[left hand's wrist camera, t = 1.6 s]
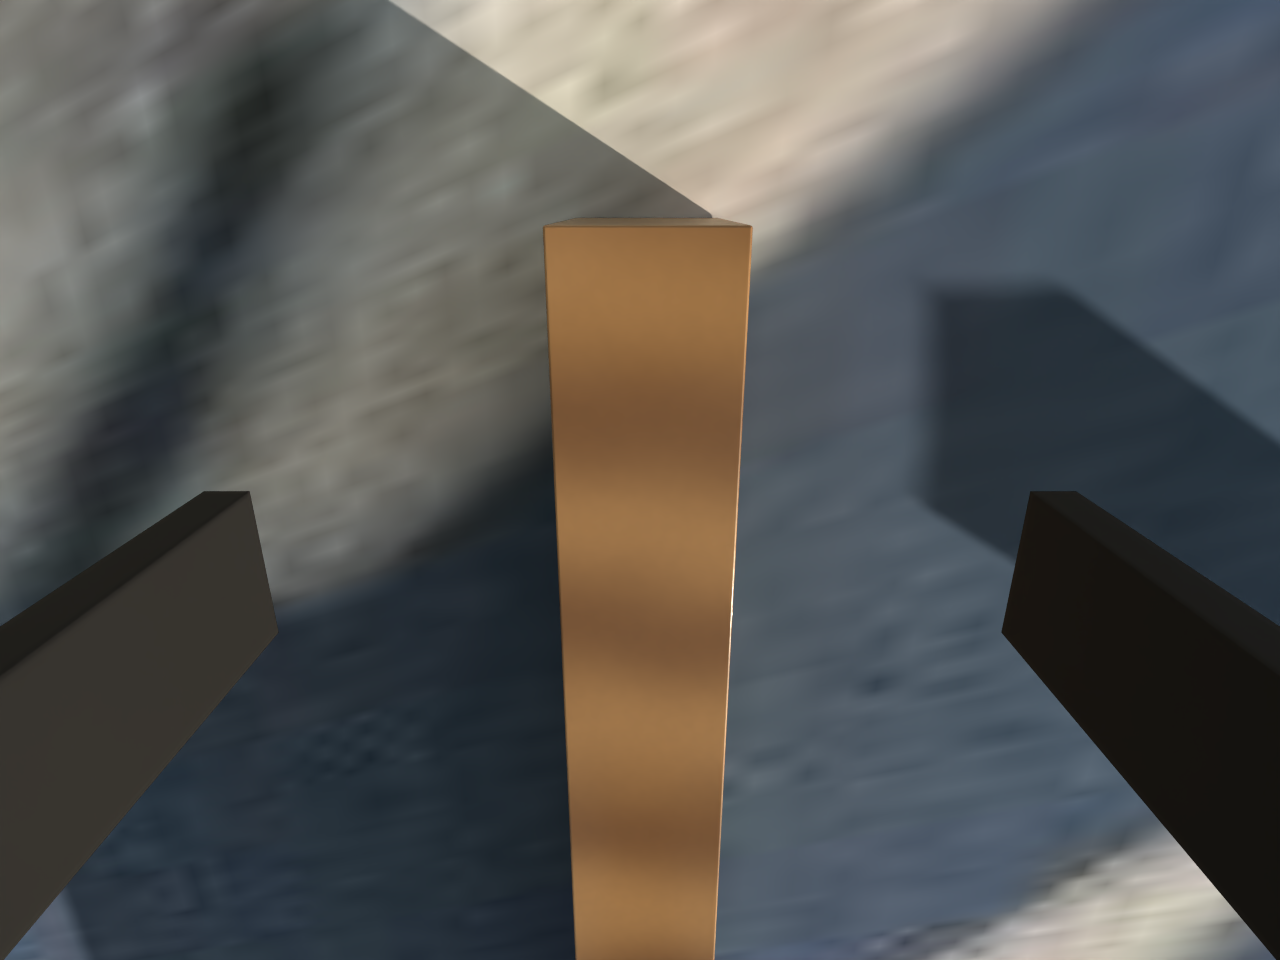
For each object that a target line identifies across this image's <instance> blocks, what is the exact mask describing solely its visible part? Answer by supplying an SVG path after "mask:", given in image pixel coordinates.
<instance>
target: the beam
mask: <svg viewBox="0 0 1280 960" xmlns="http://www.w3.org/2000/svg"><path fill="white" fill-rule="evenodd" d="M752 229H753V228H752V226H750V225H746V224H742V223H737V222H733V221H728V220H724V219H720V218H574V219H570V220H566V221H561V222H557V223H553V224H548V225H545V226H543V242H544V264H545V286H546V309H547V331H548V354H549V376H550V398H551V421H552V443H553V466H554V488H555V511H556V533H557V555H558V578H559V600H560V623H561V645H562V668H563V690H564V712H565V735H566V757H567V780H568V802H569V824H570V847H571V869H572V892H573V914H574V937H575V959H576V960H714V954H715V935H716V916H717V897H718V878H719V859H720V840H721V821H722V802H723V782H724V763H725V744H726V725H727V706H728V687H729V668H730V649H731V630H732V611H733V592H734V573H735V554H736V534H737V515H738V496H739V477H740V458H741V439H742V420H743V401H744V382H745V363H746V344H747V325H748V306H749V286H750V267H751V248H752Z"/></svg>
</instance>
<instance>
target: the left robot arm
mask: <svg viewBox="0 0 1280 960" xmlns="http://www.w3.org/2000/svg"><path fill="white" fill-rule="evenodd" d="M277 634H278V627H277V622H276V618H275V613H274V608H273V603H272V598H271V593H270V588H269V584H268V579H267V574H266V569H265V564H264V559H263V554H262V549H261V545H260V540H259V535H258V530H257V525H256V520H255V515H254V511H253V506H252V501H251V496H250V491H204V492H202V493H201V494H199V495H198V496H196V497H195V498H193V499H192V500H190V501H189V502H187V503H186V504H184V505H183V506H181V507H180V508H178V509H177V510H175V511H174V512H172V513H171V514H169V515H168V516H166V517H165V518H163V519H162V520H160V521H159V522H157V523H156V524H154V525H153V526H151V527H150V528H148V529H147V530H145V531H144V532H142V533H141V534H139V535H138V536H136V537H135V538H133V539H131V540H130V541H128V542H127V543H125V544H124V545H122V546H121V547H119V548H118V549H116V550H115V551H113V552H112V553H110V554H109V555H107V556H106V557H104V558H103V559H101V560H100V561H98V562H97V563H95V564H94V565H92V566H91V567H89V568H88V569H86V570H85V571H83V572H82V573H80V574H79V575H77V576H76V577H74V578H73V579H71V580H70V581H68V582H67V583H65V584H64V585H62V586H61V587H59V588H58V589H56V590H55V591H53V592H52V593H50V594H49V595H47V596H46V597H44V598H43V599H41V600H40V601H38V602H37V603H35V604H34V605H32V606H31V607H29V608H28V609H26V610H25V611H23V612H21V613H20V614H18V615H17V616H15V617H14V618H12V619H11V620H9V621H8V622H6V623H5V624H3V625H2V626H0V960H4V959H5V958H6V956H7V955H8V954H9V953H10V952H11V950H12V949H13V948H14V947H15V946H16V944H17V943H18V942H19V941H20V940H21V939H22V937H23V936H24V935H25V934H26V933H27V931H28V930H29V929H30V928H31V927H32V925H33V924H34V923H35V922H36V921H37V919H38V918H39V917H40V916H41V915H42V914H43V912H44V911H45V910H46V909H47V908H48V906H49V905H50V904H51V903H52V902H53V900H54V899H55V898H56V897H57V896H58V894H59V893H60V892H61V891H62V890H63V888H64V887H65V886H66V885H67V884H68V883H69V881H70V880H71V879H72V878H73V877H74V875H75V874H76V873H77V872H78V871H79V869H80V868H81V867H82V866H83V865H84V863H85V862H86V861H87V860H88V859H89V858H90V856H91V855H92V854H93V853H94V852H95V850H96V849H97V848H98V847H99V846H100V844H101V843H102V842H103V841H104V840H105V838H106V837H107V836H108V835H109V834H110V833H111V831H112V830H113V829H114V828H115V827H116V825H117V824H118V823H119V822H120V821H121V819H122V818H123V817H124V816H125V815H126V813H127V812H128V811H129V810H130V809H131V808H132V806H133V805H134V804H135V803H136V802H137V800H138V799H139V798H140V797H141V796H142V794H143V793H144V792H145V791H146V790H147V788H148V787H149V786H150V785H151V784H152V783H153V781H154V780H155V779H156V778H157V777H158V775H159V774H160V773H161V772H162V771H163V769H164V768H165V767H166V766H167V765H168V763H169V762H170V761H171V760H172V759H173V758H174V756H175V755H176V754H177V753H178V752H179V750H180V749H181V748H182V747H183V746H184V744H185V743H186V742H187V741H188V740H189V738H190V737H191V736H192V735H193V734H194V733H195V731H196V730H197V729H198V728H199V727H200V725H201V724H202V723H203V722H204V721H205V719H206V718H207V717H208V716H209V715H210V713H211V712H212V711H213V710H214V709H215V708H216V706H217V705H218V704H219V703H220V702H221V700H222V699H223V698H224V697H225V696H226V694H227V693H228V692H229V691H230V690H231V688H232V687H233V686H234V685H235V684H236V682H237V681H238V680H239V679H240V678H241V677H242V675H243V674H244V673H245V672H246V671H247V669H248V668H249V667H250V666H251V665H252V663H253V662H254V661H255V660H256V659H257V657H258V656H259V655H260V654H261V653H262V652H263V650H264V649H265V648H266V647H267V646H268V644H269V643H270V642H271V641H272V640H273V638H274V637H275V636H276V635H277ZM1002 634H1003V635H1004V636H1005V637H1006V638H1007V640H1008V641H1009V642H1010V643H1011V644H1012V646H1013V647H1014V648H1015V649H1016V650H1017V652H1018V653H1019V654H1020V655H1021V656H1022V657H1023V659H1024V660H1025V661H1026V662H1027V663H1028V665H1029V666H1030V667H1031V668H1032V669H1033V671H1034V672H1035V673H1036V674H1037V675H1038V677H1039V678H1040V679H1041V680H1042V681H1043V682H1044V684H1045V685H1046V686H1047V687H1048V688H1049V690H1050V691H1051V692H1052V693H1053V694H1054V696H1055V697H1056V698H1057V699H1058V700H1059V702H1060V703H1061V704H1062V705H1063V706H1064V708H1065V709H1066V710H1067V711H1068V712H1069V713H1070V715H1071V716H1072V717H1073V718H1074V719H1075V721H1076V722H1077V723H1078V724H1079V725H1080V727H1081V728H1082V729H1083V730H1084V731H1085V733H1086V734H1087V735H1088V736H1089V737H1090V738H1091V740H1092V741H1093V742H1094V743H1095V744H1096V746H1097V747H1098V748H1099V749H1100V750H1101V752H1102V753H1103V754H1104V755H1105V756H1106V758H1107V759H1108V760H1109V761H1110V762H1111V763H1112V765H1113V766H1114V767H1115V768H1116V769H1117V771H1118V772H1119V773H1120V774H1121V775H1122V777H1123V778H1124V779H1125V780H1126V781H1127V783H1128V784H1129V785H1130V786H1131V787H1132V788H1133V790H1134V791H1135V792H1136V793H1137V794H1138V796H1139V797H1140V798H1141V799H1142V800H1143V802H1144V803H1145V804H1146V805H1147V806H1148V808H1149V809H1150V810H1151V811H1152V812H1153V813H1154V815H1155V816H1156V817H1157V818H1158V819H1159V821H1160V822H1161V823H1162V824H1163V825H1164V827H1165V828H1166V829H1167V830H1168V831H1169V833H1170V834H1171V835H1172V836H1173V837H1174V838H1175V840H1176V841H1177V842H1178V843H1179V844H1180V846H1181V847H1182V848H1183V849H1184V850H1185V852H1186V853H1187V854H1188V855H1189V856H1190V858H1191V859H1192V860H1193V861H1194V862H1195V863H1196V865H1197V866H1198V867H1199V868H1200V869H1201V871H1202V872H1203V873H1204V874H1205V875H1206V877H1207V878H1208V879H1209V880H1210V881H1211V883H1212V884H1213V885H1214V886H1215V887H1216V889H1217V890H1218V891H1219V892H1220V893H1221V894H1222V896H1223V897H1224V898H1225V899H1226V900H1227V902H1228V903H1229V904H1230V905H1231V906H1232V908H1233V909H1234V910H1235V911H1236V912H1237V914H1238V915H1239V916H1240V917H1241V918H1242V919H1243V921H1244V922H1245V923H1246V924H1247V925H1248V927H1249V928H1250V929H1251V930H1252V931H1253V933H1254V934H1255V935H1256V936H1257V937H1258V939H1259V940H1260V941H1261V942H1262V943H1263V944H1264V946H1265V947H1266V948H1267V949H1268V950H1269V952H1270V953H1271V954H1272V955H1273V956H1274V958H1275V959H1276V960H1280V626H1278V625H1277V624H1275V623H1274V622H1272V621H1271V620H1269V619H1268V618H1266V617H1265V616H1263V615H1262V614H1260V613H1259V612H1257V611H1255V610H1254V609H1252V608H1251V607H1249V606H1248V605H1246V604H1245V603H1243V602H1242V601H1240V600H1239V599H1237V598H1236V597H1234V596H1233V595H1231V594H1230V593H1228V592H1227V591H1225V590H1224V589H1222V588H1221V587H1219V586H1218V585H1216V584H1215V583H1213V582H1212V581H1210V580H1209V579H1207V578H1206V577H1204V576H1203V575H1201V574H1200V573H1198V572H1197V571H1195V570H1194V569H1192V568H1191V567H1189V566H1188V565H1186V564H1185V563H1183V562H1182V561H1180V560H1179V559H1177V558H1176V557H1174V556H1173V555H1171V554H1170V553H1168V552H1167V551H1165V550H1164V549H1162V548H1161V547H1159V546H1158V545H1156V544H1155V543H1153V542H1152V541H1150V540H1149V539H1147V538H1145V537H1144V536H1142V535H1141V534H1139V533H1138V532H1136V531H1135V530H1133V529H1132V528H1130V527H1129V526H1127V525H1126V524H1124V523H1123V522H1121V521H1120V520H1118V519H1117V518H1115V517H1114V516H1112V515H1111V514H1109V513H1108V512H1106V511H1105V510H1103V509H1102V508H1100V507H1099V506H1097V505H1096V504H1094V503H1093V502H1091V501H1090V500H1088V499H1087V498H1085V497H1084V496H1082V495H1081V494H1079V493H1078V492H1076V491H1030V496H1029V501H1028V506H1027V511H1026V515H1025V520H1024V525H1023V530H1022V535H1021V540H1020V545H1019V549H1018V554H1017V559H1016V564H1015V569H1014V574H1013V579H1012V584H1011V588H1010V593H1009V598H1008V603H1007V608H1006V613H1005V618H1004V622H1003V627H1002Z"/></svg>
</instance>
